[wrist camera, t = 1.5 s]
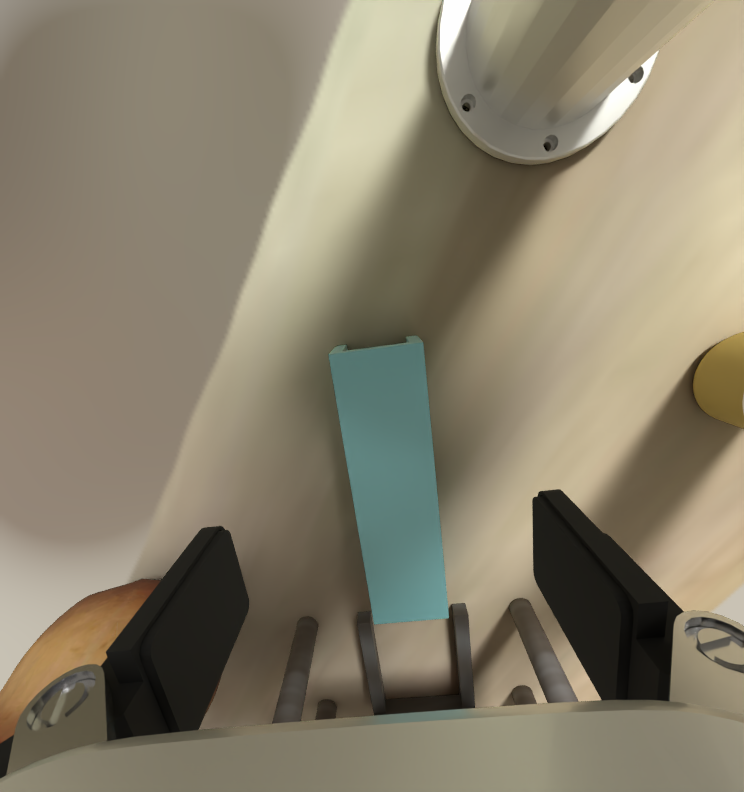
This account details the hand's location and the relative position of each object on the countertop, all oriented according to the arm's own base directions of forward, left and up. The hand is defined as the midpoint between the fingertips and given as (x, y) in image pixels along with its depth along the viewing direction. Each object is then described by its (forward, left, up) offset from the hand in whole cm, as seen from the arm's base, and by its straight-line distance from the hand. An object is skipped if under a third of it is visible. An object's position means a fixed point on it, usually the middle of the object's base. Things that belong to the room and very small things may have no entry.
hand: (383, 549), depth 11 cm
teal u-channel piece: (+7, 0, -17) cm, 18 cm away
